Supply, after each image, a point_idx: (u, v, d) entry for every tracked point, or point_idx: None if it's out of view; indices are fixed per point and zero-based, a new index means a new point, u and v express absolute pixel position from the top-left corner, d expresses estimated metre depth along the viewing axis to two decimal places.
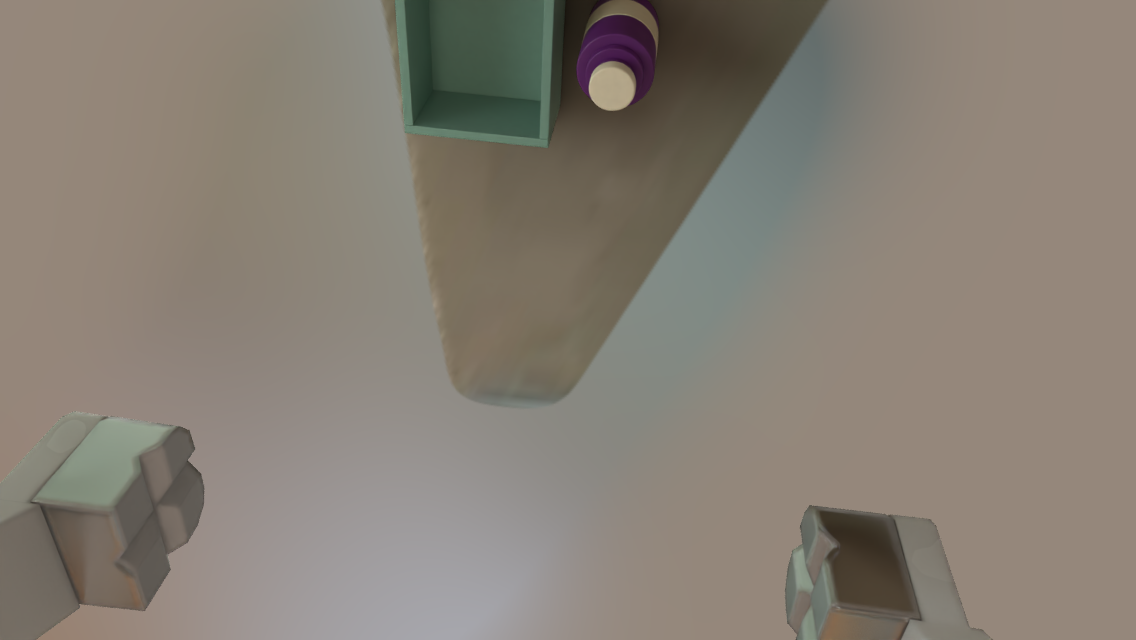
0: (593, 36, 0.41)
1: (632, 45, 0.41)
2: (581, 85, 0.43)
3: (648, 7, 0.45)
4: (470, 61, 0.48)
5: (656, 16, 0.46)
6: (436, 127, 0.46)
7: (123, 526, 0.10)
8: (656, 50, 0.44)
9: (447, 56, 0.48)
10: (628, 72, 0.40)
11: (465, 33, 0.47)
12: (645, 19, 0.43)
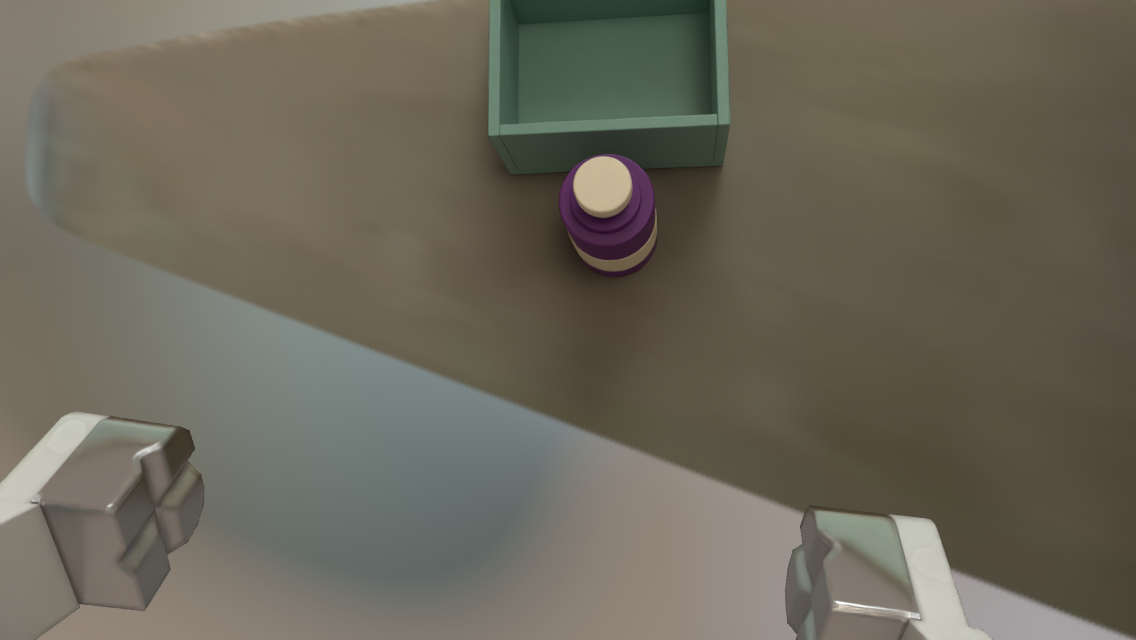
0: None
1: (641, 215, 0.34)
2: (584, 161, 0.34)
3: (647, 257, 0.39)
4: (558, 65, 0.41)
5: (634, 270, 0.39)
6: (501, 1, 0.37)
7: (124, 526, 0.10)
8: (616, 260, 0.36)
9: (561, 39, 0.41)
10: (625, 202, 0.32)
11: (591, 58, 0.41)
12: (647, 247, 0.37)
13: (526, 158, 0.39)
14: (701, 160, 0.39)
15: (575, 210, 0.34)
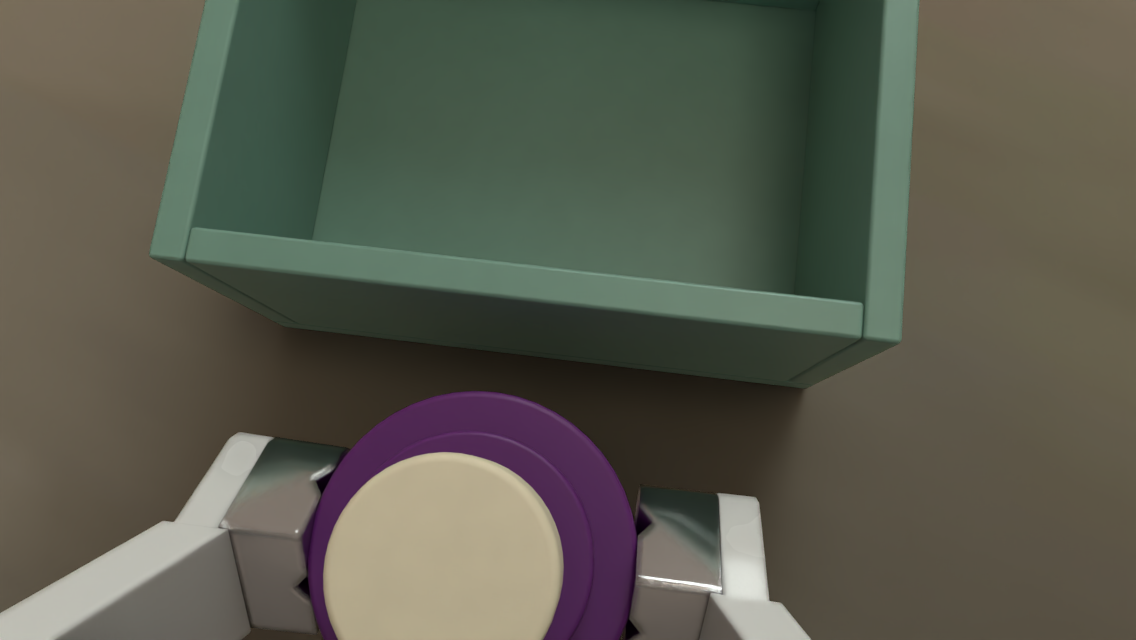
0: None
1: (585, 638, 0.10)
2: (418, 409, 0.10)
3: None
4: (440, 80, 0.17)
5: None
6: None
7: (308, 549, 0.10)
8: None
9: (458, 20, 0.17)
10: None
11: (522, 76, 0.17)
12: None
13: (303, 310, 0.14)
14: (759, 376, 0.15)
15: None
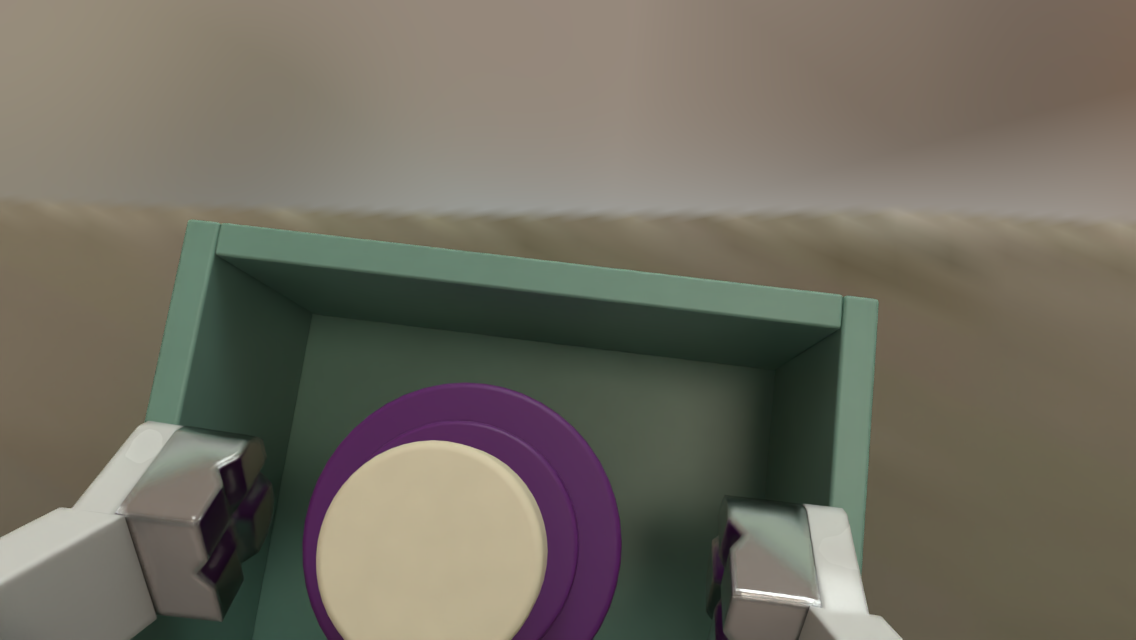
0: None
1: (568, 621, 0.10)
2: (410, 399, 0.10)
3: None
4: None
5: None
6: (198, 339, 0.12)
7: (207, 536, 0.10)
8: None
9: (409, 373, 0.17)
10: None
11: None
12: None
13: None
14: None
15: None
